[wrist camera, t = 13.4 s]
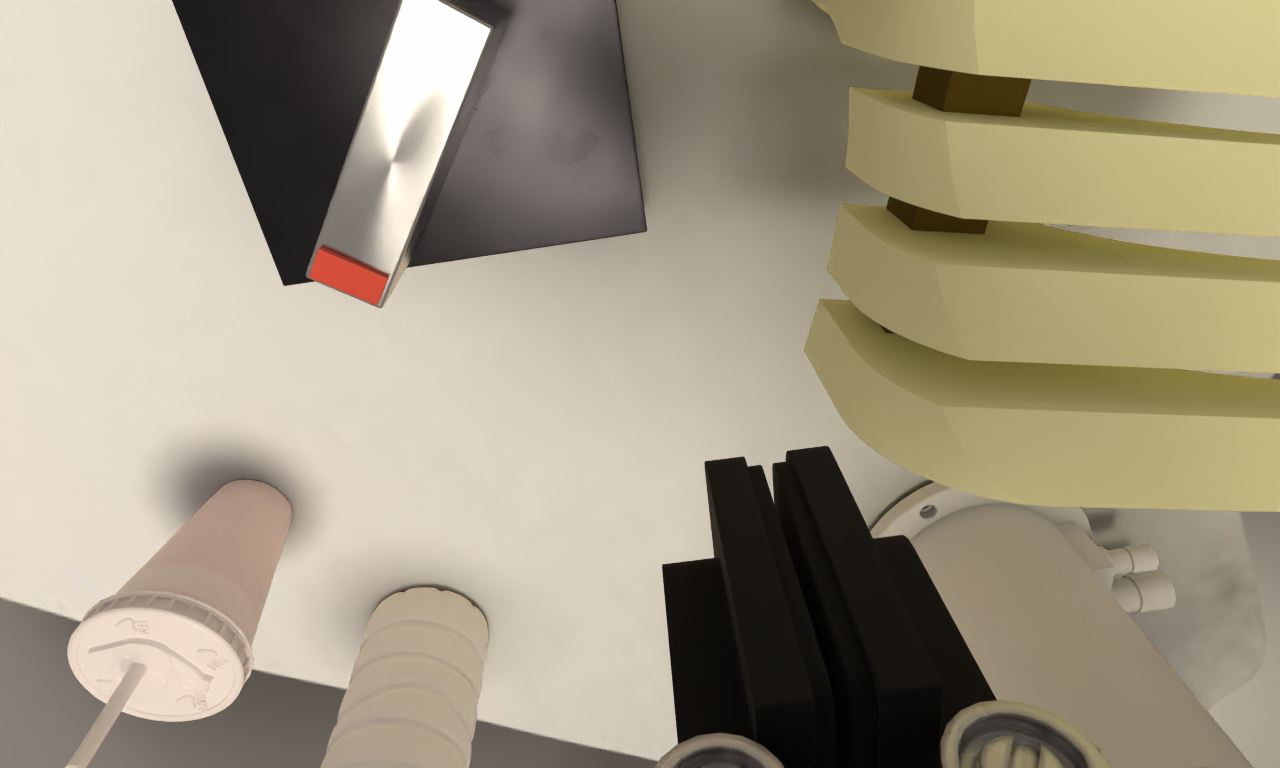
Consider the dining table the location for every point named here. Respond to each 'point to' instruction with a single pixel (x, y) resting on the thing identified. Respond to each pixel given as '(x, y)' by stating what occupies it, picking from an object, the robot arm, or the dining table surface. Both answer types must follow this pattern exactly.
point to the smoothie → (184, 616)
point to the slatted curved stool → (1058, 257)
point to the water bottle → (413, 685)
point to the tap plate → (488, 153)
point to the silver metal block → (405, 142)
